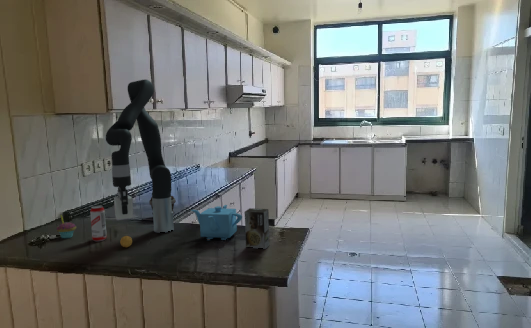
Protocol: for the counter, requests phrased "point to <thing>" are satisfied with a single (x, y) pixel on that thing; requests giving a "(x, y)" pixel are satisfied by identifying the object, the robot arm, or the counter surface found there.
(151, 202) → the flowerpot
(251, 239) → the coffee box
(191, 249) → the counter surface
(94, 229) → the beer can
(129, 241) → the ball
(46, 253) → the counter surface
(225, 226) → the teakettle
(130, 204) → the grey rectangular block
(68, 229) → the cupcake
